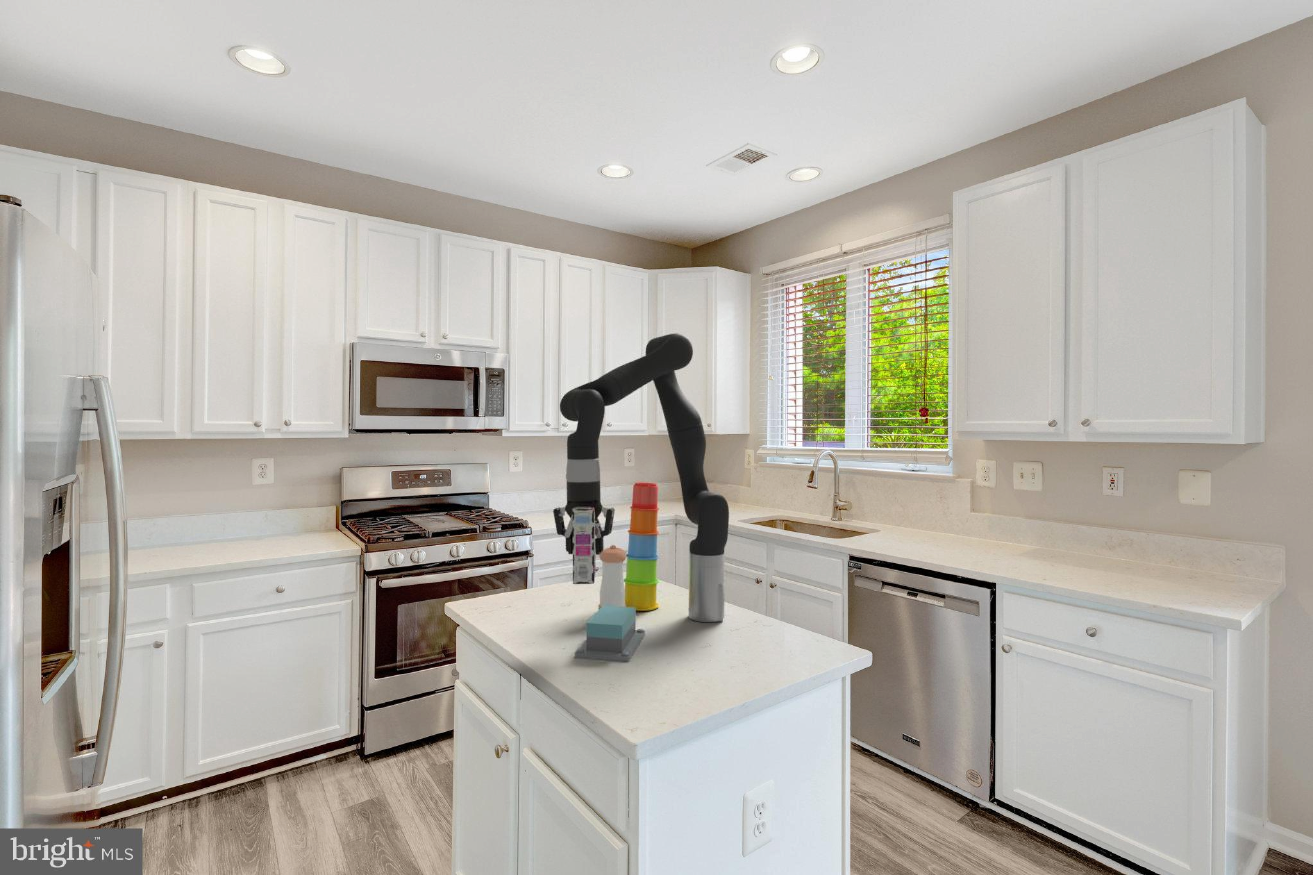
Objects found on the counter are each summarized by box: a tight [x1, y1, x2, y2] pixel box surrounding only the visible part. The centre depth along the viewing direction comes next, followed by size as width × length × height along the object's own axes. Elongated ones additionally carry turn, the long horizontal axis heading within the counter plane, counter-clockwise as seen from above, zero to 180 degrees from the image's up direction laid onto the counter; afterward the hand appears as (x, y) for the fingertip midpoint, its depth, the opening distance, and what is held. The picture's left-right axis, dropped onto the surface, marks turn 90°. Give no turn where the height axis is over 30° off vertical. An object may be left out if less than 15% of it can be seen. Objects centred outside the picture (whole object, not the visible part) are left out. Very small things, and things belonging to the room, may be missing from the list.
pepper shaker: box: [597, 544, 627, 612], centre depth 164 cm, size 7×7×19 cm
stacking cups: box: [623, 482, 660, 612], centre depth 175 cm, size 10×10×35 cm
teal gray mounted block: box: [574, 606, 646, 662], centre depth 143 cm, size 12×18×7 cm, turn 170°
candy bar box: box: [572, 506, 596, 585], centre depth 141 cm, size 11×5×16 cm, turn 5°
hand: (584, 553), depth 141 cm, fingers closed on candy bar box, 5 cm apart
